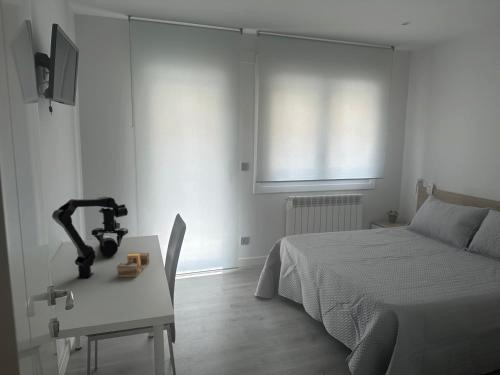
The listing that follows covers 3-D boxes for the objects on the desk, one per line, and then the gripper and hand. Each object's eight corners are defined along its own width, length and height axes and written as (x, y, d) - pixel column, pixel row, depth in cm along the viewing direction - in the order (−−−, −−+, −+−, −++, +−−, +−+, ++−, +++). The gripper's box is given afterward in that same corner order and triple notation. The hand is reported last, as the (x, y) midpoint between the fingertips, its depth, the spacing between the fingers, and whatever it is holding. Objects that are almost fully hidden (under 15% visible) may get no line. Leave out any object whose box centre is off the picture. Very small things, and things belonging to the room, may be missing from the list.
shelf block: (136, 276, 183) (135, 264, 182) (118, 276, 183) (117, 264, 182) (149, 262, 203) (148, 251, 202) (132, 262, 203) (131, 251, 202)
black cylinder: (109, 248, 244) (115, 234, 245) (113, 258, 213) (120, 243, 214) (95, 244, 240) (101, 230, 241) (97, 253, 209) (104, 237, 210)
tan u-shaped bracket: (140, 264, 194) (139, 253, 193) (138, 266, 191) (137, 255, 190) (130, 265, 194) (129, 253, 193) (128, 267, 192) (126, 255, 190)
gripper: (131, 216, 201) (133, 242, 203) (100, 215, 202) (102, 242, 205) (122, 220, 190) (124, 248, 192) (89, 220, 191) (92, 248, 194)
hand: (110, 246), depth 196 cm, fingers open, 9 cm apart
